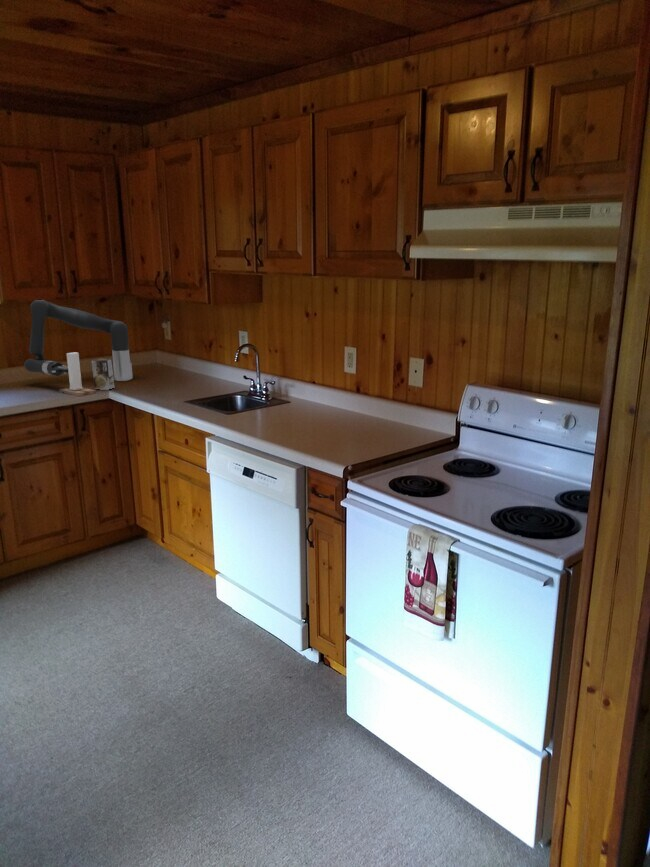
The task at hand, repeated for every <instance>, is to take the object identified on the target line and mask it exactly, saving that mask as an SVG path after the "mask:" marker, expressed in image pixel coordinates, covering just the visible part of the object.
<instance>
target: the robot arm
mask: <svg viewBox="0 0 650 867" xmlns="http://www.w3.org/2000/svg"><path fill="white" fill-rule="evenodd" d="M30 312H31V331H30V338H29V349H28V351H29V352H28V353H30V354H31V355H34V356H35V358H28V359H26V360H25V361H24V364H23V366H24V369H25V370H26V371H27V372H31V373H41V374H46V375H49V376H55V377H59V376H62V375H64V374H69V372H68V365H67V366H66V365H65V364H63V363H62V362H59V361H56V360H45V355H44V347H45V346H44V345H45V323H46V319H47V318H51V319H54V320H55V319H56V320H59V321H61V322H63V323H65V324H68V325H71V326H74V327H76V328H81V329H86V330H93V331H100V332H104V333H107V334H110V341H111V351H112V352H111V353H112V364H113V375H114V381H117V382H125V381H130V380H133V378H134V376H133V366H132V362H131V358H130V345H129V343H130V342H129V330H128V326H127V325H126V323H124V322H123V321H122V320H121V321H120V320H115V319H110V318H104V317H101V316H98V315H96V314H93V313H90V312H88V311H84V310H80V309H78V308H77V309H76V308H72V307H68V306H63V305H62V306H61V305H58V304H55V303H52V302H50V301H47V300H45V299H42V300H37V299H35V300H34V301H32V302H31V303H30Z"/></svg>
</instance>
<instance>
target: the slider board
mask: <svg viewBox="0 0 650 867" xmlns="http://www.w3.org/2000/svg"><path fill="white" fill-rule="evenodd" d="M58 392H59V393H60V392H64V393H63V394H65V393H70V394H73V395H72V396H76V397H83V396H88V395H92V394H96V393H97V390H94V389H92V388H86V387H83V389H79V390H70V387H67V388H61V389H59V390H58ZM70 394H69V395H70Z"/></svg>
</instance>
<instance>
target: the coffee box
mask: <svg viewBox="0 0 650 867" xmlns="http://www.w3.org/2000/svg"><path fill="white" fill-rule="evenodd" d="M91 369H92V376H93V377H92V378H93V387H94V388H93V390H94V389H100V390H99V391H110V390H109V389H112V388H114V389H115V388H116V387H115V377H114V366H113V358H95V359H92V360H91ZM112 390H113V389H112Z"/></svg>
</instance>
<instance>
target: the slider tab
mask: <svg viewBox="0 0 650 867" xmlns="http://www.w3.org/2000/svg"><path fill="white" fill-rule="evenodd" d="M66 362H67V367H68V372H69V373H68V379H69V380H68V381H69V388H70V390H79V389H83V388H84V387H83V385H82V384H83V383H82V376H81V364H80V354H79V352H76V351H75V352H74V351H73V352H67V353H66Z"/></svg>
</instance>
